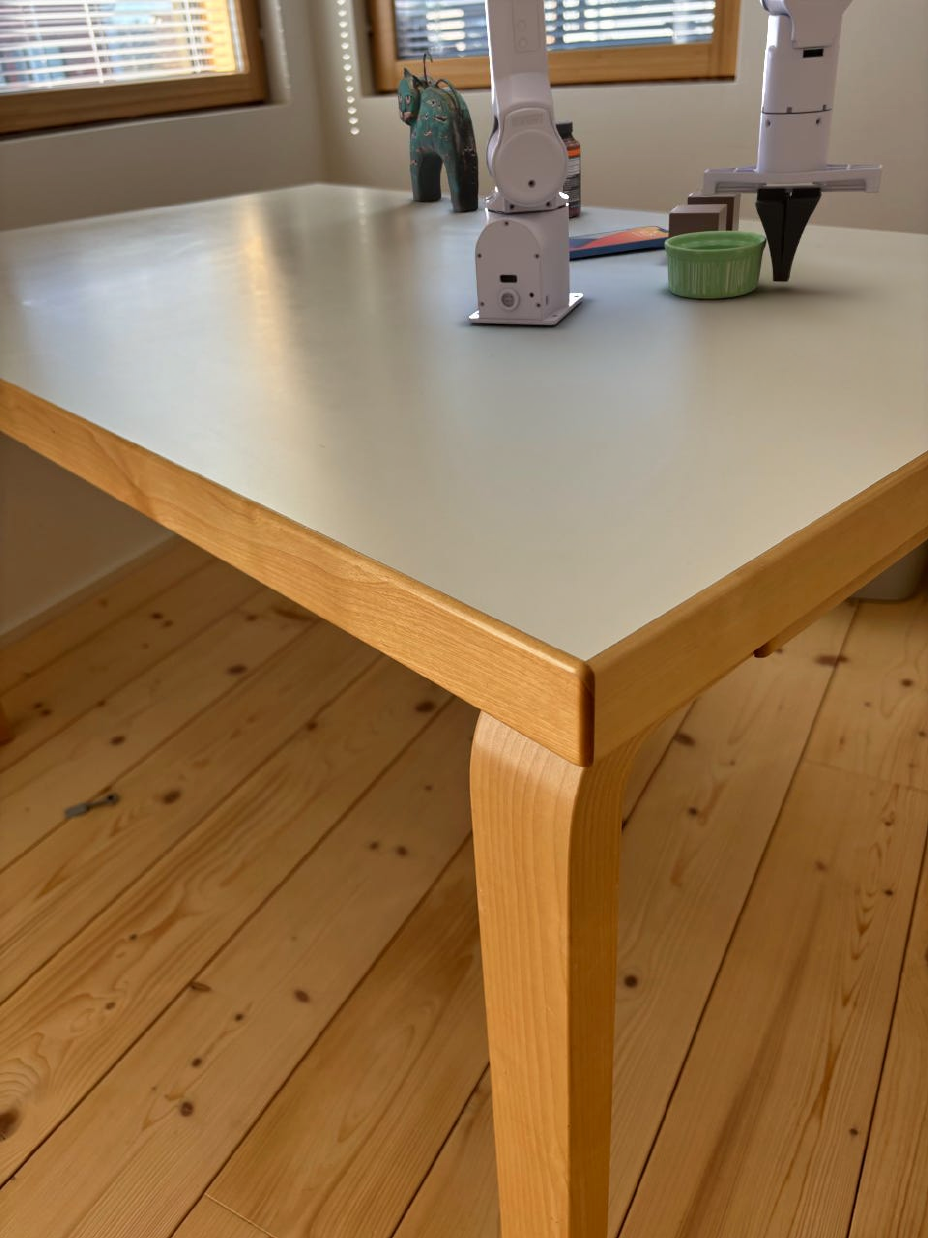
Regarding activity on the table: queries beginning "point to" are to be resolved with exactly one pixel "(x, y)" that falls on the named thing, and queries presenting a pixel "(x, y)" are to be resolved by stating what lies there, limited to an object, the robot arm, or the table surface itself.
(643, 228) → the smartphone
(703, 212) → the walnut block near
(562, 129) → the supplement bottle
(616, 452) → the table surface
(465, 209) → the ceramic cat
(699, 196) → the walnut block far
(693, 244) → the ramekin
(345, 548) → the table surface
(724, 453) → the table surface
